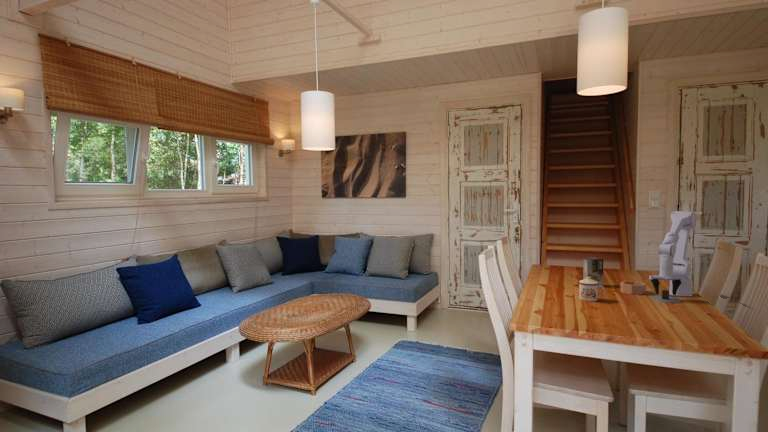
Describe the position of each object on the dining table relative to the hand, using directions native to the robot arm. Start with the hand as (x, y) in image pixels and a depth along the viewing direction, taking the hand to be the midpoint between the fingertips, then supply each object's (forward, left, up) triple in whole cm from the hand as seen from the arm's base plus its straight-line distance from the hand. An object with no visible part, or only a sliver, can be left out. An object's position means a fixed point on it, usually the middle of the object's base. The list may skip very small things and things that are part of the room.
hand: (665, 294), depth 219 cm
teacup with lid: (+36, +7, -3) cm, 37 cm away
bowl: (+11, -13, -3) cm, 17 cm away
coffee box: (+28, -26, -3) cm, 38 cm away
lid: (0, 0, -3) cm, 3 cm away
